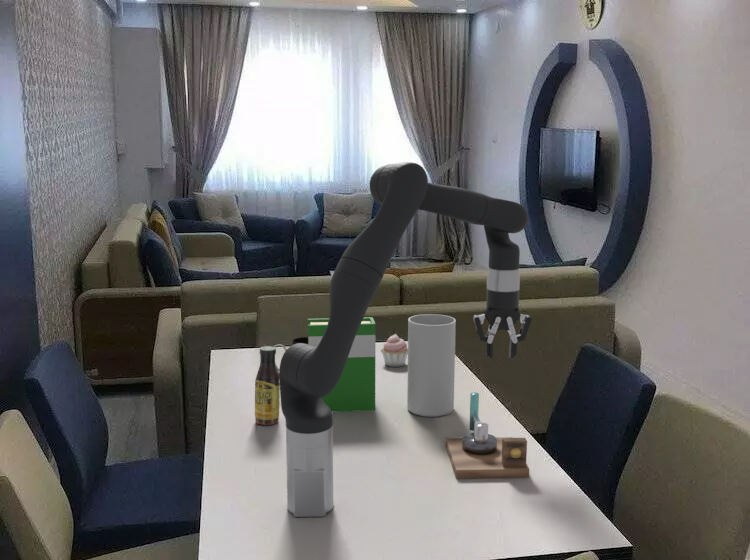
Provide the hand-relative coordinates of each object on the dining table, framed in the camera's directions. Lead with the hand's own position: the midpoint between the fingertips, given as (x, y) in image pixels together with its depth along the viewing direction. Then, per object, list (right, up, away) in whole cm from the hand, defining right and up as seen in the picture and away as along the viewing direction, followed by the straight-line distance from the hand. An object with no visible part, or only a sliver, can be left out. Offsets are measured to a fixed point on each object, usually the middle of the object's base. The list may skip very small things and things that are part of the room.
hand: (500, 357), depth 189 cm
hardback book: (-39, -16, +28) cm, 51 cm away
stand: (-5, -23, -7) cm, 24 cm away
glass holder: (-52, -14, +41) cm, 68 cm away
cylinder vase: (-15, -17, +26) cm, 34 cm away
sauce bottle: (-58, -19, +17) cm, 63 cm away
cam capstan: (-6, -20, -2) cm, 21 cm away
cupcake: (-23, -9, +67) cm, 72 cm away
